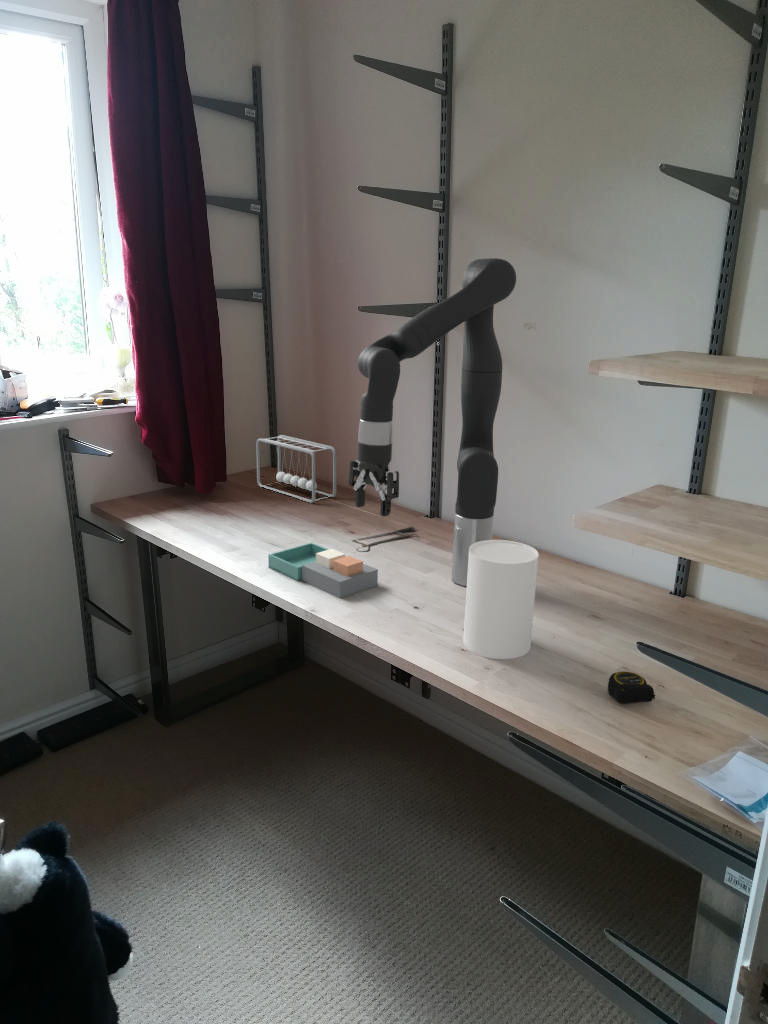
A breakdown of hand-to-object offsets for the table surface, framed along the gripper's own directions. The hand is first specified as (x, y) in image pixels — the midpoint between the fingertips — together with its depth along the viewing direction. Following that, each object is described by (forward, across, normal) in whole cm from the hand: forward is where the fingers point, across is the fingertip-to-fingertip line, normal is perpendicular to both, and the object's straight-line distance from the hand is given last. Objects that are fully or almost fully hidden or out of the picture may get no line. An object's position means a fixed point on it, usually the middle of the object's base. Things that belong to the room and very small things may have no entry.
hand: (372, 510), depth 167 cm
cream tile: (+17, +14, +1) cm, 22 cm away
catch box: (+21, +23, +1) cm, 31 cm away
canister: (+20, -35, -4) cm, 41 cm away
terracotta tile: (+17, +7, 0) cm, 18 cm away
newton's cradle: (+21, +82, -38) cm, 93 cm away
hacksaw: (+21, +26, -30) cm, 45 cm away
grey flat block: (+21, +10, 0) cm, 23 cm away
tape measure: (+20, -64, -6) cm, 67 cm away
